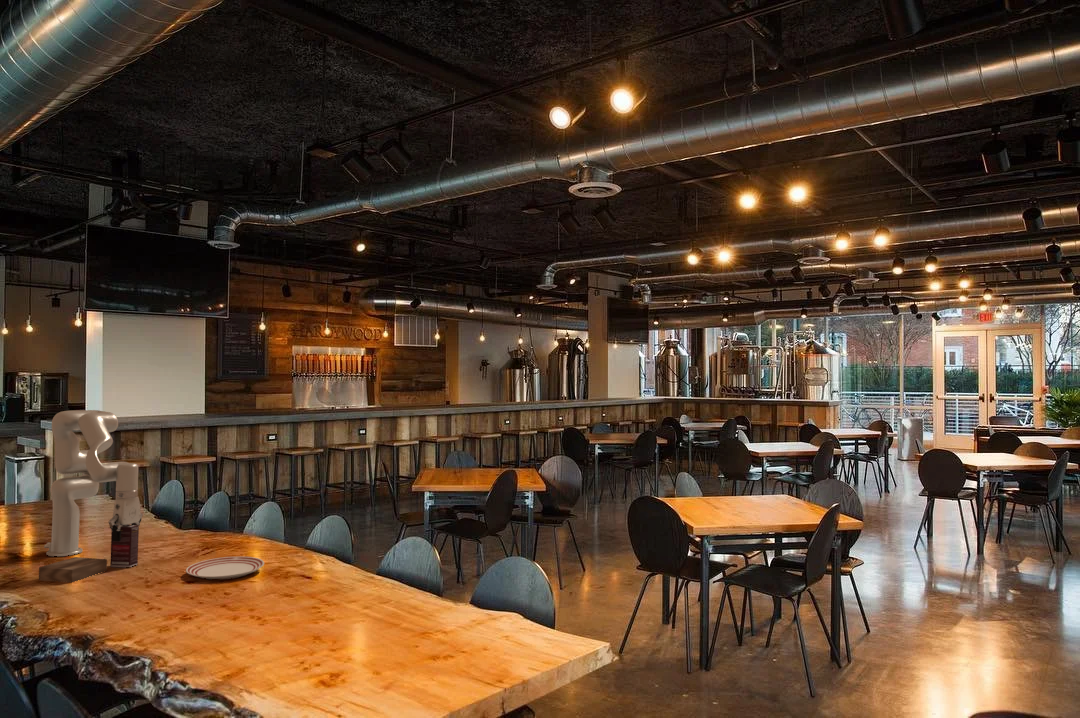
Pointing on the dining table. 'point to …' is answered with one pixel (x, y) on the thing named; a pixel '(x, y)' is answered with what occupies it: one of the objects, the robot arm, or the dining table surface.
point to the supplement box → (125, 547)
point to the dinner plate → (225, 567)
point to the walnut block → (72, 569)
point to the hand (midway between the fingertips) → (125, 538)
